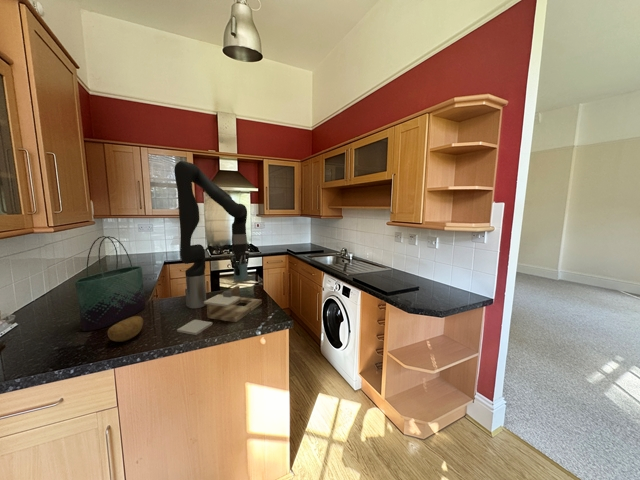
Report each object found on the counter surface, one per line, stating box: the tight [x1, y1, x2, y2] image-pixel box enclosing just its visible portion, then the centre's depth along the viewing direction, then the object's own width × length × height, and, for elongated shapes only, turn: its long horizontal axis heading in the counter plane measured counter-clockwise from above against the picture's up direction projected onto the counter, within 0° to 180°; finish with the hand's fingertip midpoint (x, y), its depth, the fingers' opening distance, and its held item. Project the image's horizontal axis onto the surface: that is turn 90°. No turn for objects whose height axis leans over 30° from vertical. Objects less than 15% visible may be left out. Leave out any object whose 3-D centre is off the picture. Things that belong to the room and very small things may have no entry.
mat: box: [176, 319, 213, 336], centre depth 113 cm, size 10×10×1 cm
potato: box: [107, 315, 144, 343], centre depth 104 cm, size 10×14×8 cm
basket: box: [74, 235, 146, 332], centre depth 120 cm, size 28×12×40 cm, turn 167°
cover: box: [204, 290, 242, 307], centre depth 121 cm, size 13×10×3 cm
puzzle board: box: [206, 285, 263, 323], centre depth 131 cm, size 16×24×8 cm, turn 163°
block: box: [233, 263, 249, 281], centre depth 134 cm, size 5×5×8 cm
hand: (240, 273), depth 134 cm, fingers closed on block, 5 cm apart
